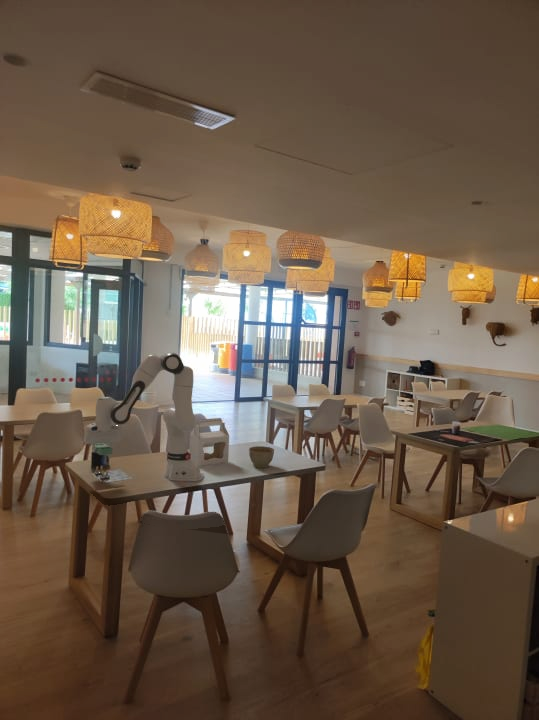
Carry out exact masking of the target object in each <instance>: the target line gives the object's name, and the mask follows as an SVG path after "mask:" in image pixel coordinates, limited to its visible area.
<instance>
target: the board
mask: <svg viewBox="0 0 539 720" xmlns="http://www.w3.org/2000/svg"><path fill="white" fill-rule="evenodd" d="M94 446H95V448H97V451H95V452H97V453H98V454H99V455H107V454H109V455H113V448H112V447H109V445H107V443H95V445H94ZM91 450H92V451H93V447H92V446H91Z"/></svg>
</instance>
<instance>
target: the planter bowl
mask: <svg viewBox="0 0 539 720" xmlns="http://www.w3.org/2000/svg"><path fill="white" fill-rule="evenodd" d="M248 451H249V452H248V455H249V457H250V460H251V462H252V465H253V467H256V468H261V469H263V468H268V467H269V466H270V464H271V462H272V461H273V457H274V454H275V449H274V448H273V447H270V446H260V445H259V446H258V445H257V446H251V447H249V448H248Z"/></svg>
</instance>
